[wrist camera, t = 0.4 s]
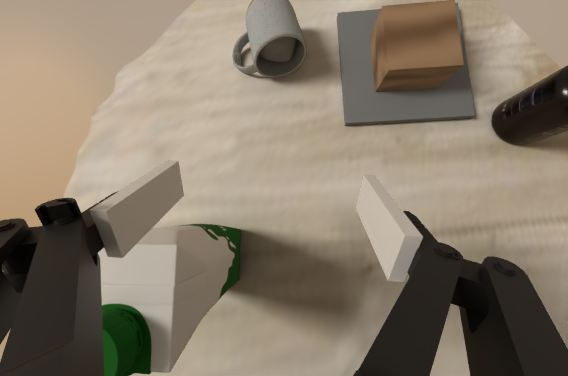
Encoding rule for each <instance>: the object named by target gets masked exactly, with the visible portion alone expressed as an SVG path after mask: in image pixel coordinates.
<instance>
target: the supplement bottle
mask: <svg viewBox="0 0 568 376" xmlns="http://www.w3.org/2000/svg"><path fill="white" fill-rule="evenodd" d="M492 127H493V129H494V131H495V133H496V134H497V135H498V136H499V137H500V138H501V139H503V140H504V141H506V142H509V143H512V144H527V143H531V142H534V141H538V140H541V139H544V138H547V137H550V136H553V135H556V134H559V133H562V132H565V131H568V66H566V67H564V68H562V69H560V70H558V71H557V72H555V73H553V74H551V75H550V76H548V77H546V78H544V79H543V80H541V81H539V82H537V83H536V84H534V85H532V86H530V87H529V88H527V89H525V90H523V91H522V92H520V93H518V94H516V95H515V96H513V97H511V98H509V99H508V100H506V101H504V102H503V103H501V104H500V105H499V106H498V107H497V108H496V109H495V110H494V112H493V115H492Z"/></svg>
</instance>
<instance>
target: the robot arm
mask: <svg viewBox="0 0 568 376" xmlns="http://www.w3.org/2000/svg"><path fill="white" fill-rule="evenodd" d="M183 196H184V193H183V187H182V181H181V174H180V168H179V162H178V161H169V160H168V161H166V162H164V163H163V164H161V165H160V166H158V167H156V168H155V169H153V170H152V171H150V172H149V173H147V174H145V175H144V176H142V177H141V178H139V179H138V180H136V181H134V182H133V183H131V184H130V185H128V186H126V187H125V188H123V189H122V190H120V191H118V192H115V193H113V194H111V195H110V196H108V197H106V198H105V199H103V200H101V201H100V202H99V203H97V204H95V205H93V206H92V207H90V208H89V209H87V210H85V211H84V212H82V213H81V212H80V209H79V207H78V205H77V202H76V200H75V199H73V198H61V199H55V200H52V201H49V202H46V203H43V204H41V205H39V206H37V208H36V209H35V211H36V213H37V215H38V217H39V219H40V221H41V223H42V225H43V226H39V227H30V228H29V227H28V225H27V223H26V221H25V220H24V219H19V218H18V219H9V220H2V221H0V344H1V342H2V341H3V339H4V338H5V336H6V335H7V333H8V332H9V330H10V328H11V330H10V333H9V336H8V340H7V343H6V346H5V349H4V352H3V355H2V359H1V362H0V376H104V352H103V324H102V296H101V268H100V257H99V255H98V252H99V251H101V250H102V249H103V248H104V249H105V251H106V254H107V256H108V257H115V258H123V257H124V256H125V255H126V254H127V253H128V252H129V251H130V250H131V249H132V248H133V247H134V246H135V245H136V244H137V243H138V242H139V241H140V240H141V239H142V238H143V237H144V236H145V235H146V234H147V233H148V232H149V231H150V230H151V229H152V228H153V226H154V225H155V224H156V223H157V222H158V221H159V220H160V219H161V218H162V217H163V216H164V215H165V214H166V213H167V212H168V211H169V210H170V209H171V208H172V207H173V206H174V205H175V204H176V203H177V202H178V201H179V200H180V199H181V198H182V197H183ZM356 210H357V212H358V215H359V217H360V219H361V221H362V224H363V226H364V228H365V230H366V233H367V235H368V237H369V239H370V242H371V244H372V246H373V248H374V251H375V253H376V255H377V257H378V260H379V262H380V264H381V266H382V269H383V271H384V273H385V275H386V278H387V280H388V281H395V282H404V281H405V278H406V276H407V274H409V276H410V278H409V280H408V281H407V283H406V285H405V287H404V289H403V290H402V292H401V294H400V296H399V298H398V299H397V301H396V303H395V305H394V307H393V308H392V310H391V312H390V314H389V316H388V317H387V319H386V321H385V323H384V325H383V327H382V328H381V330H380V332H379V334H378V336H377V337H376V339H375V341H374V343H373V345H372V346H371V348H370V350H369V352H368V354H367V355H366V357H365V359H364V361H363V363H362V364H361V366H360V368H359V369H358V370H357V371H356V372H355V374H354V375H353V376H430V372H431V369H432V365H433V362H434V359H435V355H436V352H437V348H438V345H439V341H440V338H441V335H442V331H443V328H444V324H445V321H446V317H447V314H448V311H449V307H450V304H454V305H457V306H459V308H460V315H461V321H462V327H463V333H464V339H465V345H466V351H467V357H468V364H469V370H470V376H568V349H567V347H566V345H565V344H564V342H563V340H562V338H561V336H560V334H559V333H558V331H557V329H556V327H555V325H554V324H553V322H552V320H551V318H550V316H549V314H548V313H547V311H546V309H545V307H544V305H543V303H542V302H541V300H540V298H539V296H538V294H537V293H536V291H535V289H534V287H533V285H532V283H531V282H530V280H529V278H528V276H527V275H526V273H525V272H524V271H523V270H522V269H520V268H519V267H518V266H517V265H515V264H513V263H511V262H510V261H507V260H504V259H501V258H497V257H487V258H485V259H484V261H483V262H482V264H480V263H476V262H472V261H469V260H465V259H463V256H462V255H461V254H460V252H458V251H457V250H456V249H454V248H453V247H451V246H449V245H446V244H443V243H439V242H437V240H436V239H435V238H434V237H433V236H432V234H431V233H430V232H429V231H428V230H427V229H426V228H425V226H424V225H423V224H421V222H420V220H419V219H418V218H417V217H416V216H415V215H413V214H412V213H410V212H409V211H402V209H401V208H400V207H399V206H398V204H397V203H396V202H395V201H394V199H393V198H392V197H391V196H390V194H389V193H388V192H387V190H386V189H385V188H384V187H383V185H382V184H381V183H380V182H379V180H378V179H377V178H376V176H372V175H364V176H363V181H362V185H361V189H360V193H359V198H358V202H357V206H356ZM2 270H3V271H4V272H3V271H2Z"/></svg>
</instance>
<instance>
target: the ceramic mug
mask: <svg viewBox="0 0 568 376" xmlns="http://www.w3.org/2000/svg"><path fill="white" fill-rule="evenodd" d="M246 28H247V32H245V33H244V34H243V35H242V36H241V37H240V38H239V39H238V40H237V42H236V44H235V46H234V49H233V62H234V65H235V67H236V68H238V69H239V70H240V71H241V72H243V73H245V74H251V73H255V72H257V71H258V72H259V73H260V74H261V75H263V76H266V77H271V78H275V77H282V76H285V75H288V74H290V73H292V72H293V71H295V70H296V69H297V68H298V67H299V66H300V65H301V64H302V62H303V61H304V59H305V56H306V43H305V41H304V38H303V35H302V32H301V29H300V26H299V23H298V21H297V18H296V14H295V12H294V9H293V7H292V5H291V4H290V2H289V0H253V1H252V2H251V3H250V5H249V7H248V9H247V13H246ZM248 42H250V47H251V53H252V58H253V64H252V65H250V66H246V67H242V66H241V51H242V49H243V47H244V46H245V45H246V44H247V43H248Z"/></svg>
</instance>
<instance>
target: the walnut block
mask: <svg viewBox="0 0 568 376" xmlns="http://www.w3.org/2000/svg"><path fill="white" fill-rule="evenodd" d="M370 43H371V54H372V64H373V75H374V85H375V92H384V91H400V90H415V89H430V88H439V87H440V86H441V85H442V84H443V83H444V82H445V81H447V80H448V79H449V78H450V77H451V76H452V75H453V74H454V73H455V72H457V71H458V70H459V69H460V68H461V67H462V66H463V65H464V61H463V55H462V48H461V41H460V35H459V28H458V21H457V15H456V8H455V1H454V0H448V1H436V2H424V3H412V4H400V5H389V6H382V8H381V11H380V13H379V16H378V18H377V21H376V23H375V26H374V28H373V30H372V33H371V35H370Z"/></svg>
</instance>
